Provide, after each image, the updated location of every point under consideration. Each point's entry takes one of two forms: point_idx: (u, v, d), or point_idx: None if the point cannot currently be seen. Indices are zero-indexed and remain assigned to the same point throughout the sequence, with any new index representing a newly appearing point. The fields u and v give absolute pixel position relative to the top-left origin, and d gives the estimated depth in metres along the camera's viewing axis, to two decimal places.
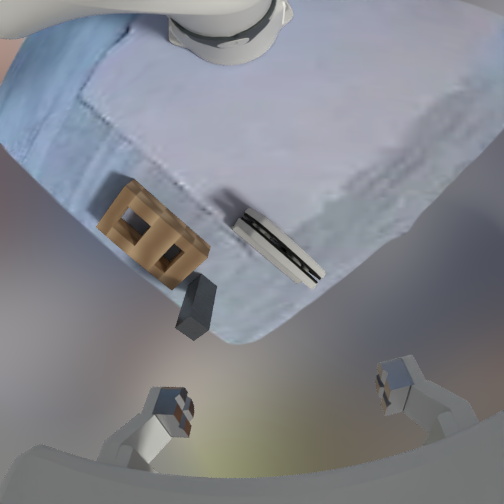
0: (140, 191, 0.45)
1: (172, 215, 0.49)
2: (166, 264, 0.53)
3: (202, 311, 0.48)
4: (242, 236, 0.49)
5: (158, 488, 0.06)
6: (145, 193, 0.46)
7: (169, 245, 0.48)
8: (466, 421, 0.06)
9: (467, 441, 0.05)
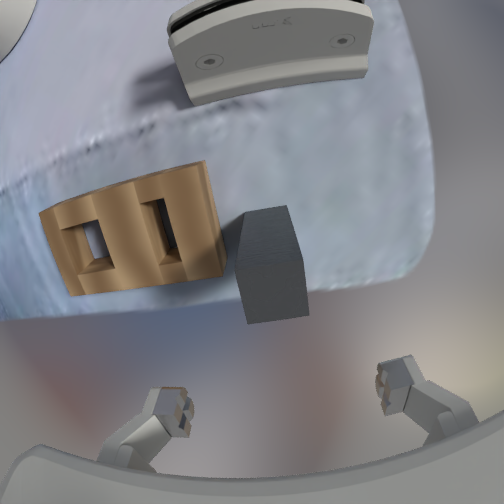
0: (64, 201, 0.26)
1: (120, 182, 0.26)
2: None
3: (268, 244, 0.20)
4: (211, 89, 0.22)
5: (158, 488, 0.06)
6: (73, 198, 0.27)
7: (138, 213, 0.24)
8: (466, 421, 0.06)
9: (467, 441, 0.05)
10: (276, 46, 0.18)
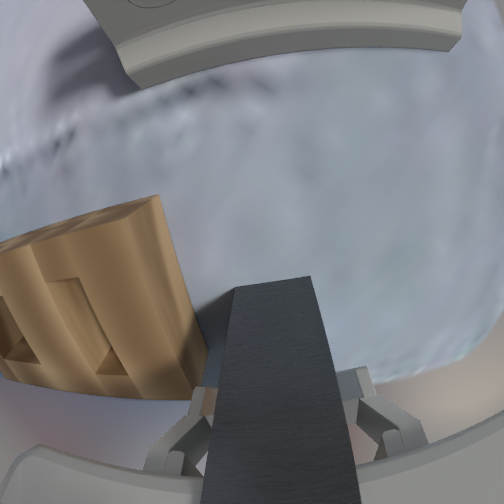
0: None
1: (33, 232, 0.14)
2: None
3: (279, 433, 0.07)
4: (166, 50, 0.09)
5: (158, 488, 0.06)
6: None
7: (48, 298, 0.12)
8: (414, 441, 0.06)
9: (467, 441, 0.05)
10: None
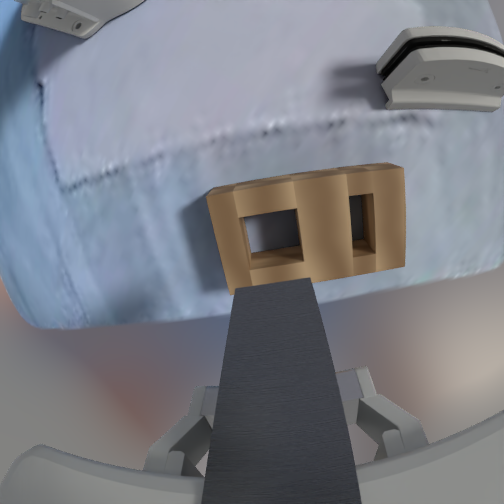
0: (235, 186, 0.27)
1: (306, 172, 0.27)
2: (365, 244, 0.29)
3: (280, 434, 0.07)
4: (409, 99, 0.23)
5: (158, 488, 0.06)
6: (244, 183, 0.27)
7: (346, 206, 0.25)
8: (414, 441, 0.06)
9: (467, 441, 0.05)
10: (466, 82, 0.19)
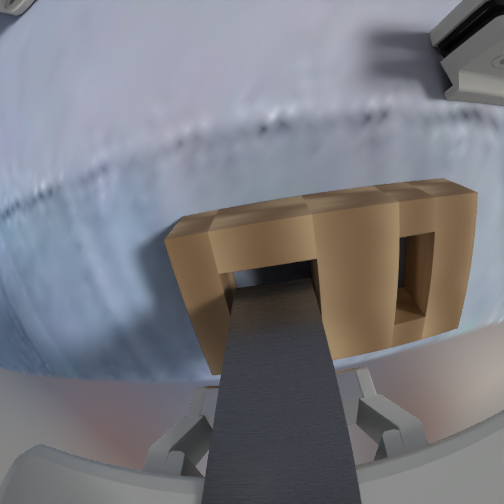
0: (214, 218, 0.17)
1: (329, 194, 0.17)
2: (407, 297, 0.19)
3: (280, 434, 0.07)
4: (479, 88, 0.12)
5: (158, 488, 0.06)
6: (229, 212, 0.17)
7: (394, 253, 0.15)
8: (414, 441, 0.06)
9: (467, 441, 0.05)
10: None
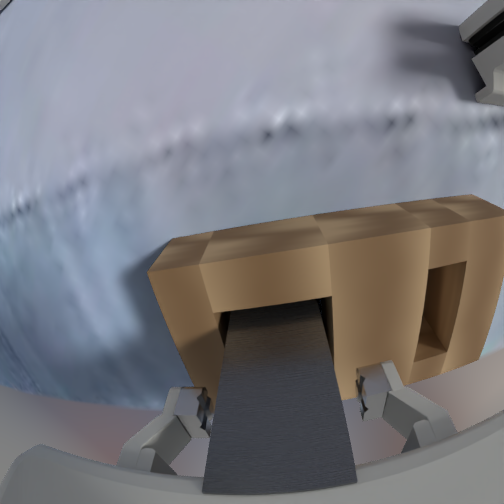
0: (207, 244, 0.14)
1: (346, 214, 0.14)
2: (427, 328, 0.16)
3: (278, 407, 0.08)
4: None
5: (158, 488, 0.06)
6: (226, 236, 0.14)
7: (421, 287, 0.12)
8: (443, 431, 0.06)
9: (467, 441, 0.05)
10: None
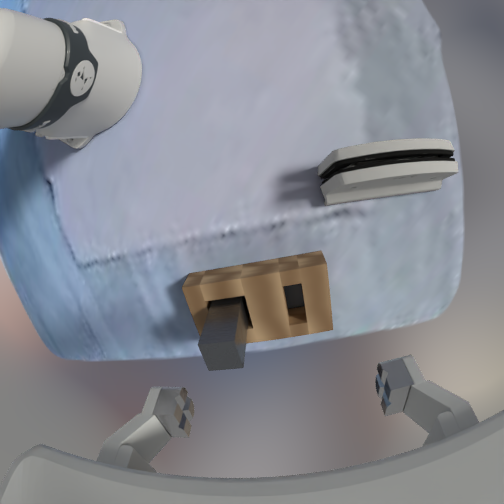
0: (202, 277, 0.38)
1: (255, 264, 0.38)
2: (303, 312, 0.40)
3: (220, 326, 0.32)
4: (343, 199, 0.33)
5: (158, 488, 0.06)
6: (209, 273, 0.39)
7: (280, 293, 0.36)
8: (466, 421, 0.06)
9: (467, 441, 0.05)
10: (396, 182, 0.29)
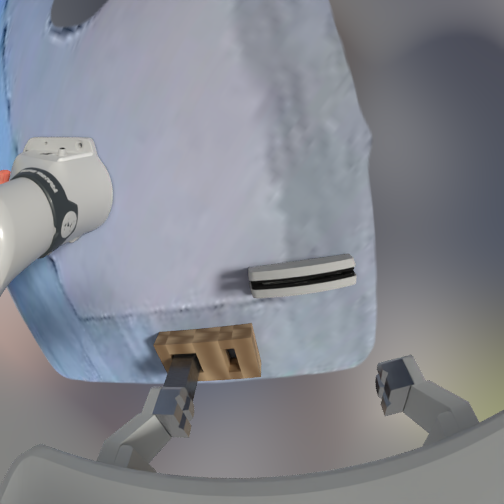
0: (168, 337, 0.51)
1: (203, 330, 0.52)
2: None
3: (177, 375, 0.46)
4: None
5: (158, 488, 0.06)
6: (173, 335, 0.52)
7: (220, 353, 0.50)
8: (466, 421, 0.06)
9: (467, 441, 0.05)
10: None
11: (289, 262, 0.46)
